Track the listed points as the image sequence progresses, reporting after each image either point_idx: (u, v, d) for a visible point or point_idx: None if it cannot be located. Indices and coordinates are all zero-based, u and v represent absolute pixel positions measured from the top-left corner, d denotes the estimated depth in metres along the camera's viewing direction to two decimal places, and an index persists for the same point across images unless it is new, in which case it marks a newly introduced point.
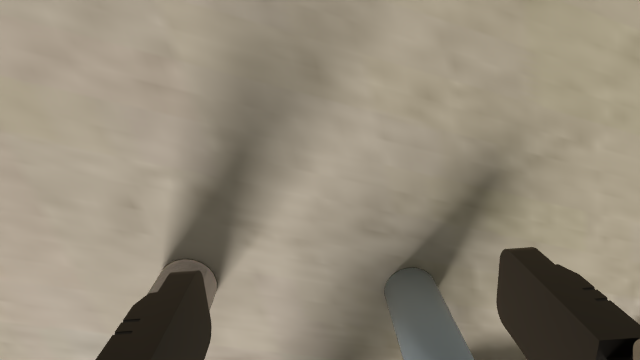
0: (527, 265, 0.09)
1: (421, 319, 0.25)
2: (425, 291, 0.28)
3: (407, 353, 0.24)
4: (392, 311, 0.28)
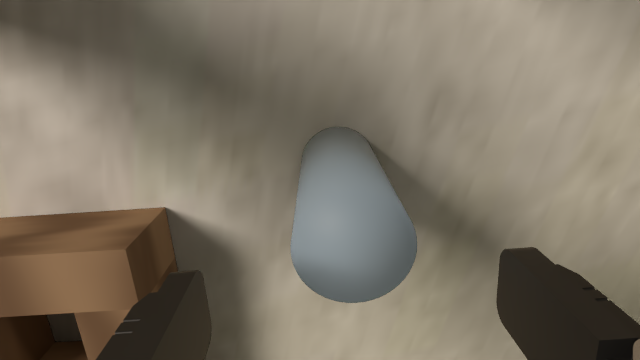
0: (527, 265, 0.09)
1: None
2: None
3: (365, 166, 0.15)
4: (347, 139, 0.19)
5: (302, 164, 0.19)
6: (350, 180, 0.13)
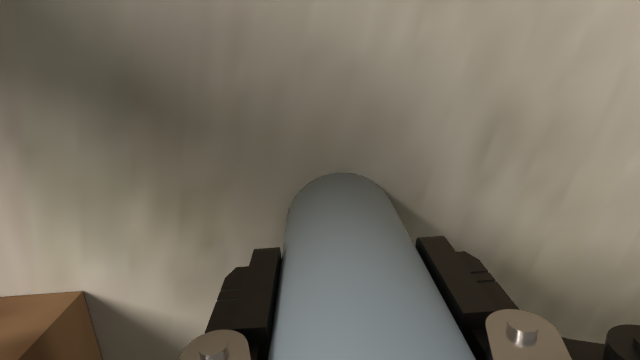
0: (430, 251, 0.10)
1: (441, 297, 0.09)
2: None
3: (406, 294, 0.07)
4: (360, 204, 0.11)
5: (285, 244, 0.12)
6: None
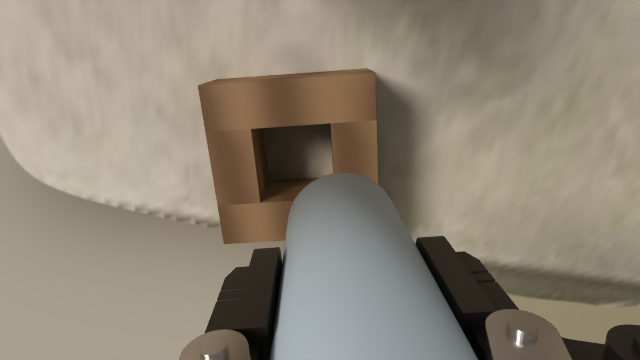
0: (430, 251, 0.10)
1: None
2: None
3: (408, 294, 0.07)
4: (362, 203, 0.11)
5: (287, 244, 0.12)
6: None
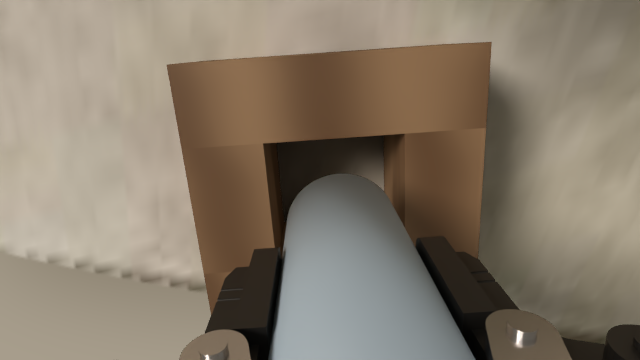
0: (430, 251, 0.10)
1: None
2: None
3: (406, 295, 0.07)
4: (360, 204, 0.11)
5: (285, 245, 0.12)
6: None
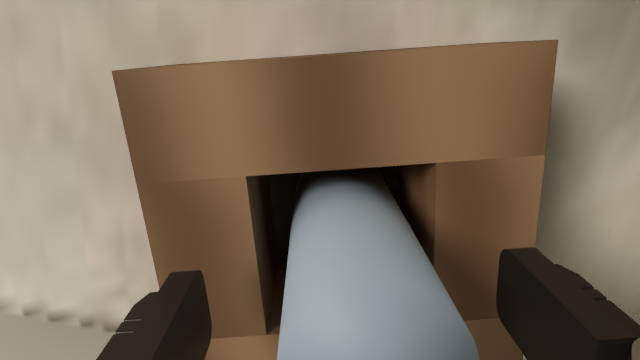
0: (526, 265, 0.09)
1: None
2: None
3: (387, 228, 0.10)
4: (356, 174, 0.14)
5: (295, 208, 0.14)
6: (371, 266, 0.08)
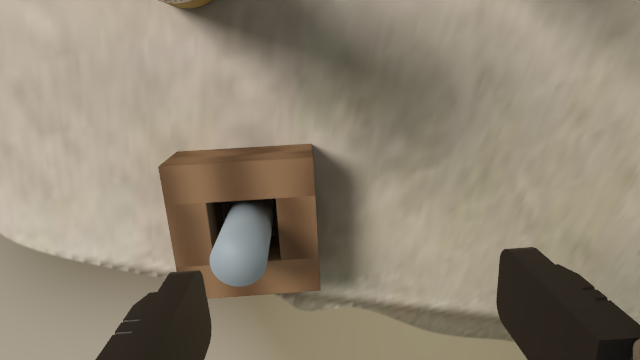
0: (527, 265, 0.09)
1: (268, 226, 0.32)
2: (272, 224, 0.35)
3: (250, 221, 0.30)
4: (252, 200, 0.34)
5: None
6: (237, 231, 0.28)
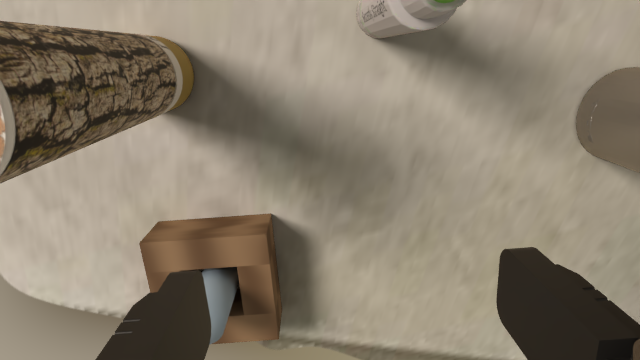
0: (527, 265, 0.09)
1: (231, 290, 0.39)
2: (238, 283, 0.42)
3: (213, 289, 0.37)
4: None
5: None
6: None
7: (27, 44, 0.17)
